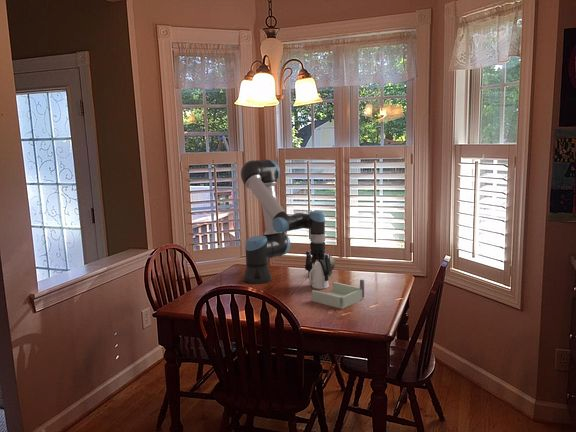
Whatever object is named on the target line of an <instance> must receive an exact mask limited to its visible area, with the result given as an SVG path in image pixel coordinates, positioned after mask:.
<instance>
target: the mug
mask: <svg viewBox="0 0 576 432" xmlns="http://www.w3.org/2000/svg"><path fill="white" fill-rule="evenodd" d="M311 272H312V280H311V278H310V275H311ZM323 275H324V272H323V269H322V267H321V264H320V262H318V261H316V262H315V264H312V269H311V271H310V273H309V277H308V278H309V279H310V280H309V279H308V280H309V282H310V281H311V282H312V284H311V286H312V288H313V289H317V290H318V289H319V290H320V289H321V290H322V289H327V288H329V286H330V284H329V280H328V281H327V285H328V286H327V287H325V288H323Z"/></svg>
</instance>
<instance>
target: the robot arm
mask: <svg viewBox="0 0 576 432" xmlns="http://www.w3.org/2000/svg"><path fill="white" fill-rule="evenodd" d="M280 175H281V169H280V165H279V164H278V163H277V162H276V160H273V159H258V160H248V161H246V162H245V163H244V164H243V166H242V167H241V170H240V178H241V181H242V183H243V185H244V186H245V187H246V188H247V189H250V191H251V193H252V194H253V195H254V196H255V198H256V199H257V201H258V202H259V204H260V205H261V206H262V212H263V213H262V214H263V219H264V228H265V232H263V235H255V236H251V237H249V238H247V239H246V240H245V247H244V249H245V269H244V274H243V278H242V279H243V282H244V281H245V283H246V282H248V283H247V284H255V285H256V284H266V283H269V282H271V281H272V273H271V271H270V268H269V264H268V263H269V262H268V260H269V259H273V258H277V257H282V256H285V255H286V254H287V253H288V252H289V250H290V248H291V240H290V237H289V236H288V234H285V233H287V232H291V231H296V230H301V229H306V230H309V239H310V240H309V241H310V242H309V244H310V245H309V247H310V250H308V251H305V255H306V256H305V257H306V258H305V265H304V266H305V267H304V271H307V273H308V278H309V273H310V271H311V269H312V264H315V262H317V261H318V260H319V262H320V264H321V267H322V269H323V272H324V275H323V288H324V289H326V288H325V287H327V286H328V285H329V284H328V285H327V281H328V282H329V277H328V275H329V274H331V275H332V272H333V270H331V264H330V256H331V253H328V254H327V253H326V251H325V250H326V242H325V241H326V232H325V231H326V227H325V226H326V218H325V217H326V216H325V212H324V211H322V210H312V211H310V212H309V213H303V212H296V213H295V212H294V214H292V215H289V214H287V212H286V211H285V210H284V208H283V207H282V205H281V204H280V203H279V201H278V198H277V189H276V186H277V184H278V179H279V178H280ZM324 256H325V257H324ZM310 278H311V280H312V272H311V275H310ZM308 281H309V286H310V285H311V286H312V282H311V281H310V279H308ZM327 288H328V287H327Z"/></svg>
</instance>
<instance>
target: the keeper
mask: <svg viewBox="0 0 576 432" xmlns="http://www.w3.org/2000/svg"><path fill="white" fill-rule="evenodd" d="M364 299H365V279H359V287H358V286H354V285H350V284H345V283H341V282H336V281H333V282H332V290H330V291H328V292H323V291H319V290H314V289H312V290H311V302H314V303H317V304H322V305H326V306H329V307H333V308H338V309H341V310H343V309H345V308H347V307H350V306H352V305H354V304H356V303H358V302H360V301H362V300H364Z"/></svg>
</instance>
